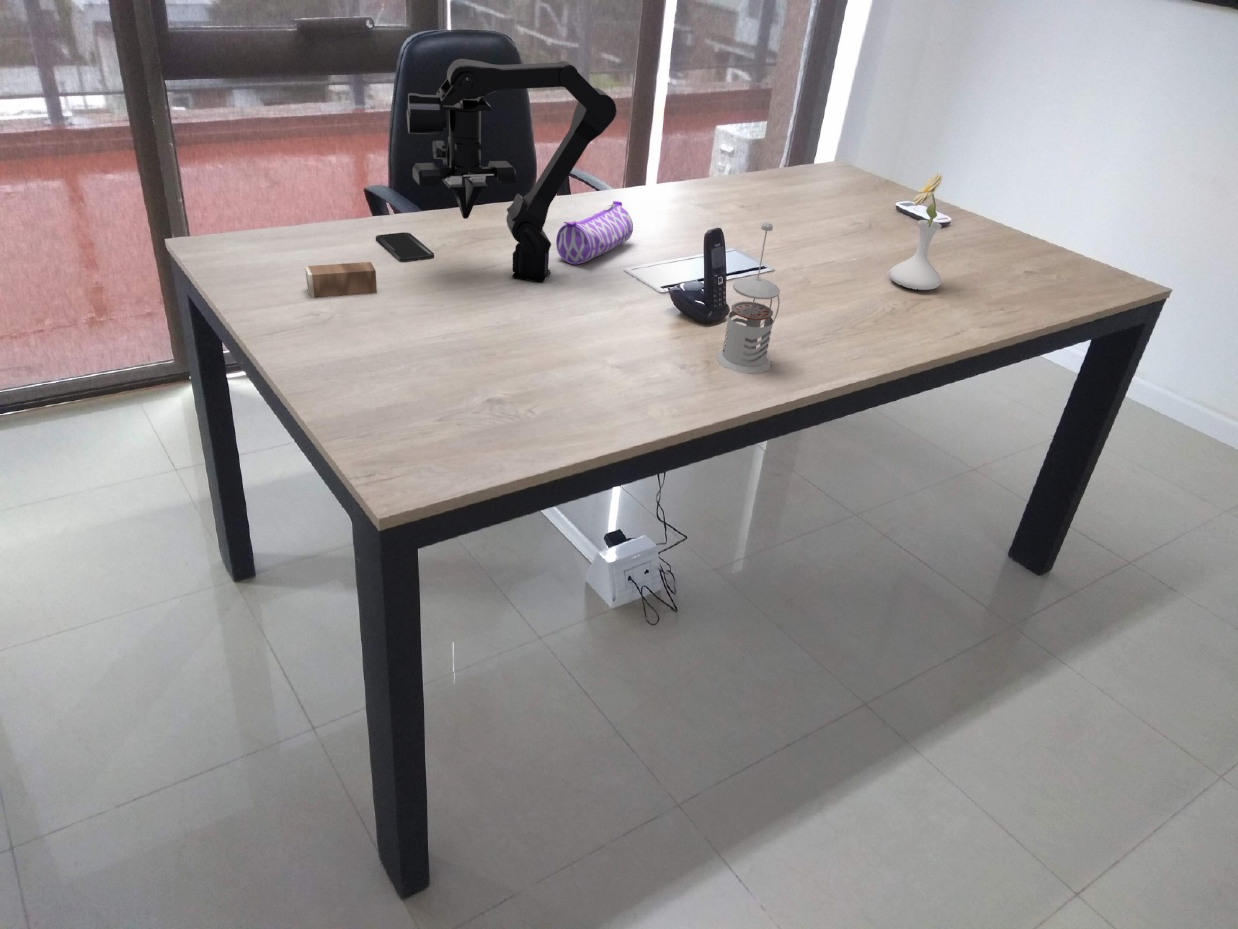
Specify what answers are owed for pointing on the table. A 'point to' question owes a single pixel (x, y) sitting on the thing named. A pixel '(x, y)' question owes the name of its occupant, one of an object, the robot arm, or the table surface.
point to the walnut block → (341, 279)
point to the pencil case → (594, 234)
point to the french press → (750, 324)
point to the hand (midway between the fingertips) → (465, 217)
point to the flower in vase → (921, 246)
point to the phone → (404, 247)
